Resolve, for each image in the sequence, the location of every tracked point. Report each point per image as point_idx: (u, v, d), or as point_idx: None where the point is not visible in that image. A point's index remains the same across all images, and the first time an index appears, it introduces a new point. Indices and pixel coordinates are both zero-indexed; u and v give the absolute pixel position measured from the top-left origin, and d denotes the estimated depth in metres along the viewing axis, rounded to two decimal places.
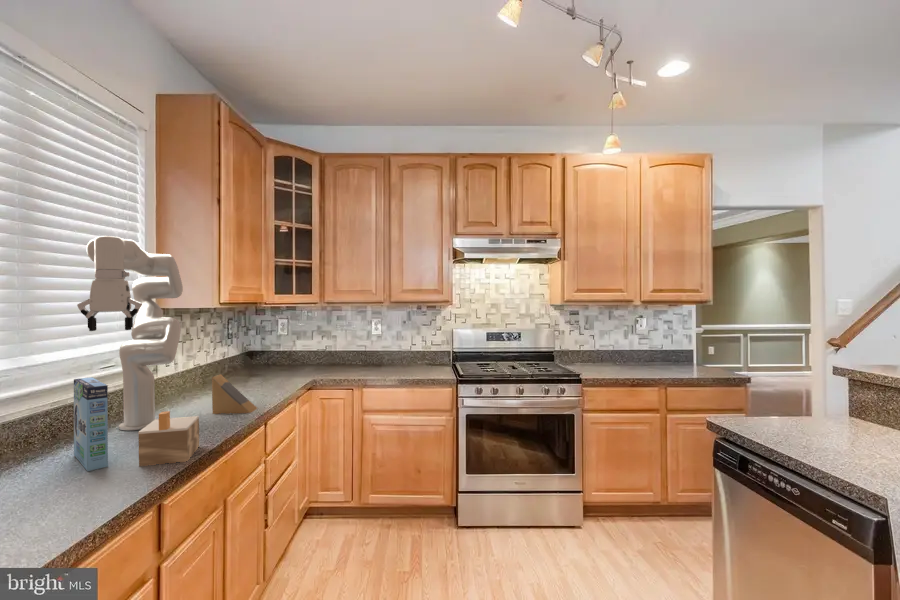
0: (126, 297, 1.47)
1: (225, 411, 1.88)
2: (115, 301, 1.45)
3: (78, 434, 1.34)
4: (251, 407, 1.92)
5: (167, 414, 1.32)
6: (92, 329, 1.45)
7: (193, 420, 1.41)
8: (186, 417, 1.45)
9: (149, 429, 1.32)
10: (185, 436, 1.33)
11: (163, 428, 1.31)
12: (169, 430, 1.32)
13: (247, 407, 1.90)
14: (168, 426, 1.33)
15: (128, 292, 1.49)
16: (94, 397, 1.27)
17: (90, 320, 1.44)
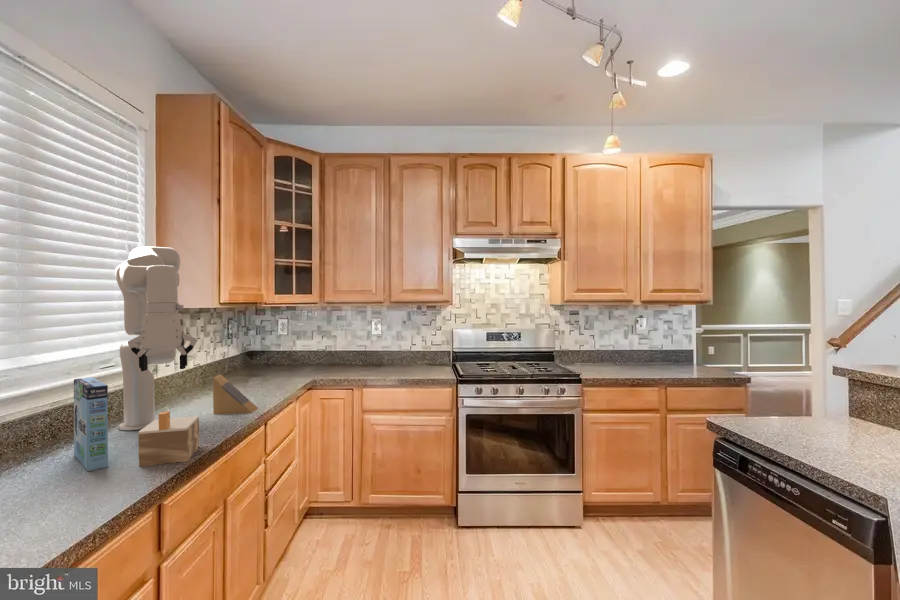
0: (181, 332, 1.32)
1: (226, 412, 1.88)
2: (169, 337, 1.31)
3: (78, 434, 1.34)
4: (252, 407, 1.92)
5: (167, 414, 1.32)
6: (144, 369, 1.30)
7: (193, 420, 1.41)
8: (186, 417, 1.45)
9: (149, 429, 1.32)
10: (185, 436, 1.33)
11: (163, 428, 1.31)
12: (169, 430, 1.32)
13: (248, 407, 1.90)
14: (168, 426, 1.33)
15: (182, 327, 1.34)
16: (94, 397, 1.27)
17: (142, 359, 1.30)
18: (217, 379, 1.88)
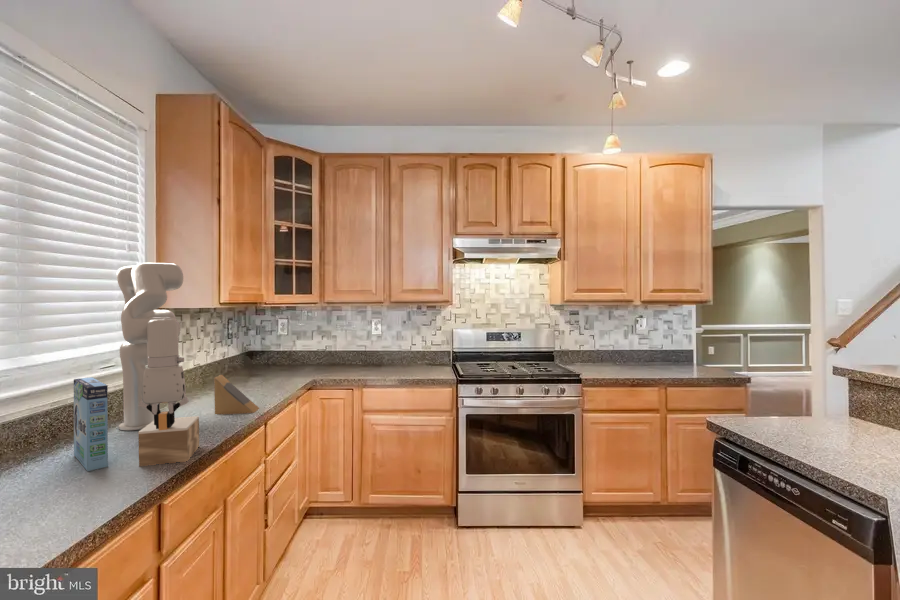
0: (181, 386, 1.33)
1: (227, 412, 1.87)
2: (170, 391, 1.31)
3: (78, 434, 1.34)
4: (253, 407, 1.92)
5: None
6: None
7: (193, 420, 1.41)
8: (186, 417, 1.45)
9: (149, 429, 1.32)
10: (185, 436, 1.33)
11: (163, 428, 1.31)
12: (169, 430, 1.32)
13: (250, 407, 1.90)
14: None
15: (183, 379, 1.34)
16: (94, 397, 1.27)
17: (157, 417, 1.31)
18: (218, 379, 1.88)
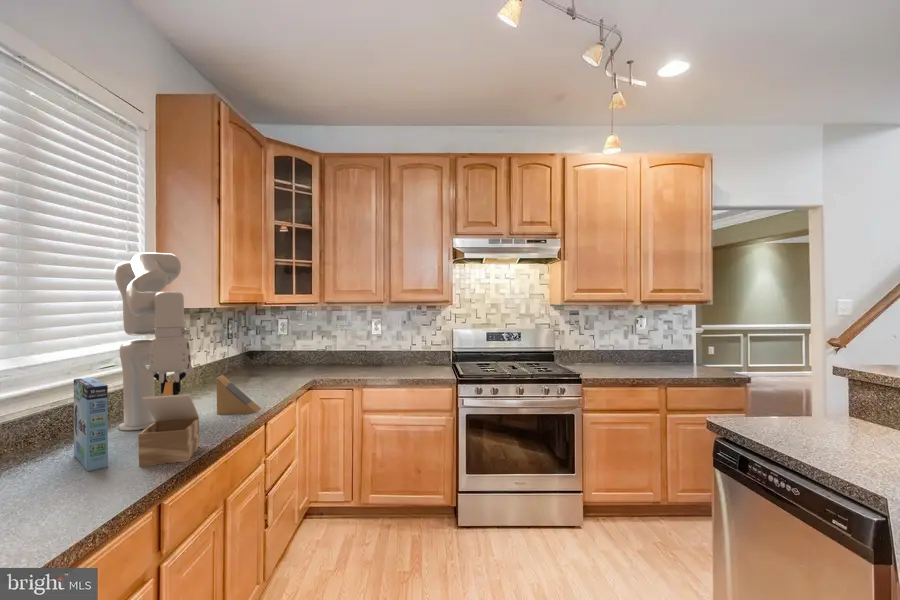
0: (187, 356, 1.39)
1: (230, 412, 1.87)
2: (176, 361, 1.37)
3: (78, 434, 1.34)
4: (255, 407, 1.92)
5: None
6: None
7: (194, 408, 1.43)
8: None
9: None
10: (185, 436, 1.33)
11: (167, 394, 1.35)
12: (172, 396, 1.35)
13: (252, 407, 1.90)
14: None
15: (188, 350, 1.40)
16: (94, 397, 1.27)
17: (164, 385, 1.37)
18: (220, 379, 1.88)
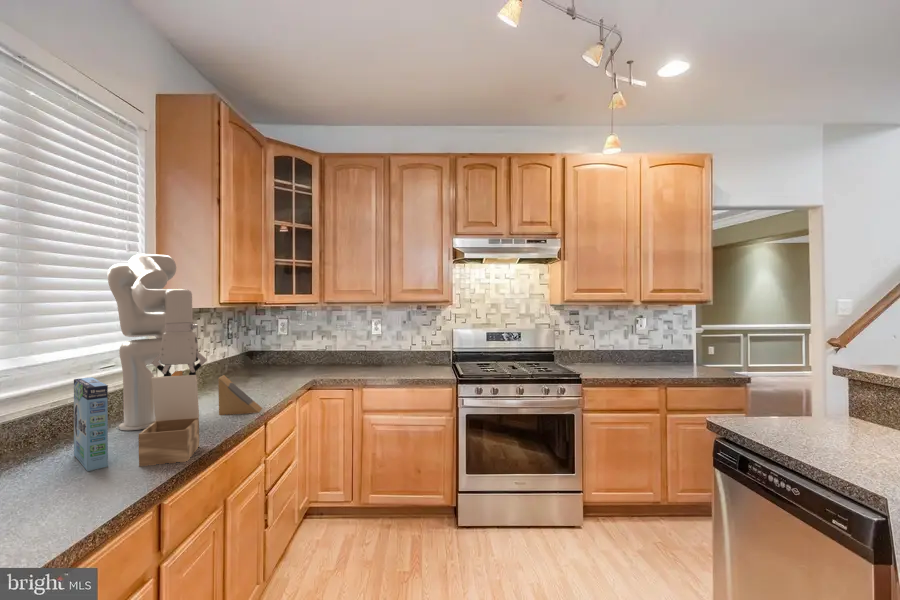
0: (195, 349, 1.48)
1: (232, 412, 1.87)
2: (185, 354, 1.46)
3: (78, 434, 1.34)
4: (257, 407, 1.92)
5: (182, 373, 1.47)
6: None
7: None
8: None
9: None
10: (185, 436, 1.33)
11: (175, 375, 1.43)
12: (180, 376, 1.43)
13: (255, 407, 1.90)
14: None
15: (196, 344, 1.50)
16: (94, 397, 1.27)
17: None
18: (222, 380, 1.87)
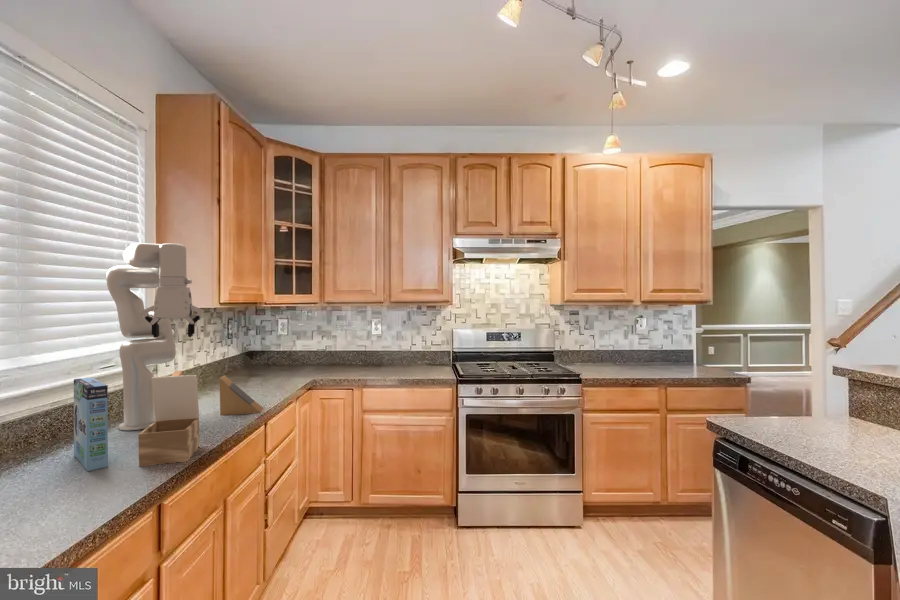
0: (189, 304, 1.49)
1: (233, 412, 1.87)
2: (179, 308, 1.47)
3: (78, 434, 1.34)
4: (259, 407, 1.92)
5: (182, 373, 1.47)
6: (156, 336, 1.46)
7: None
8: None
9: None
10: (185, 436, 1.33)
11: (175, 375, 1.43)
12: (180, 376, 1.43)
13: (256, 407, 1.90)
14: None
15: (190, 299, 1.50)
16: (94, 397, 1.27)
17: (154, 327, 1.46)
18: (223, 380, 1.87)
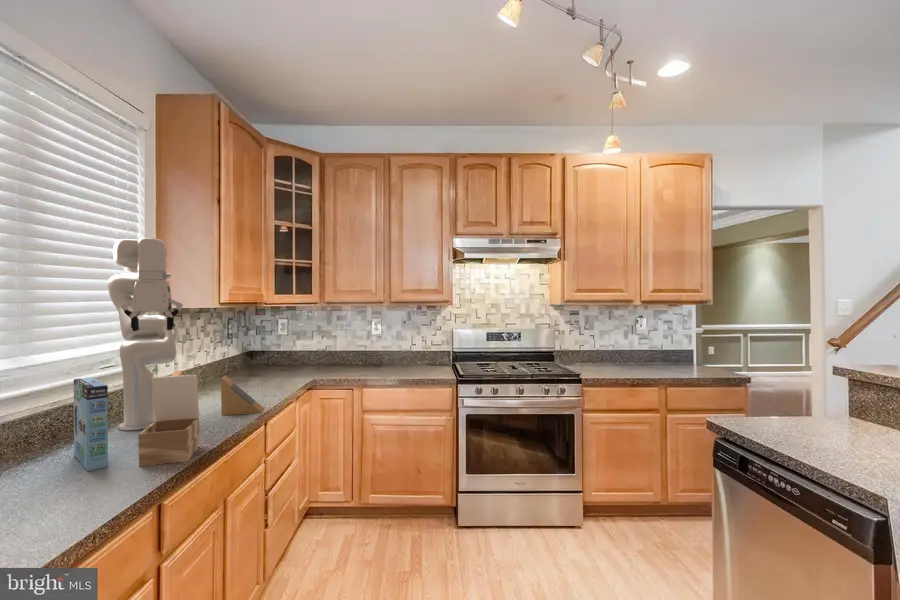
0: (168, 298, 1.51)
1: (235, 412, 1.86)
2: (158, 302, 1.49)
3: (78, 434, 1.34)
4: (260, 407, 1.92)
5: (182, 373, 1.47)
6: (135, 329, 1.49)
7: None
8: None
9: None
10: (185, 436, 1.33)
11: (175, 375, 1.43)
12: (180, 376, 1.43)
13: (257, 407, 1.90)
14: None
15: (169, 293, 1.52)
16: (94, 397, 1.27)
17: (133, 320, 1.48)
18: (225, 380, 1.87)
